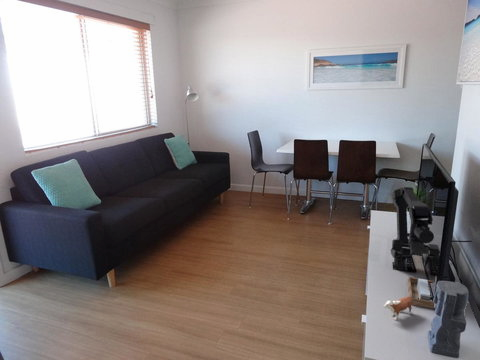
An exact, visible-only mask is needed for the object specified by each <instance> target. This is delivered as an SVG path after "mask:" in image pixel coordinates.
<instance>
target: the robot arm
mask: <svg viewBox="0 0 480 360" xmlns="http://www.w3.org/2000/svg"><path fill="white" fill-rule="evenodd" d="M391 199H392V204H393V205H394V207H395V209H396V234H397V235H396V239H393V240H392V241H391V249H390V254H391V256H392V258H394V259H393V261H392V264H391V265H392V269H393V270H396V271H397V270H398V271H403V272H404V271H405V272H407V271H408V268H407V267H408V266H407V265H408V264H407V261H408V259H412V257H413V256H417V257H418V256H419V257H423V255H425V256H424V257H425V258H424V261H423V267H424V268H425V267H426V266H427V265H428V263H429V262H430V260H432V258H436V257H440V256H439V254H440V255H441V249H440V246H439V245H438V244H435V243H433V244H432V243H431V242H433V241H434V239H435V235H434V233H433V232H432V230H431V227H429V225H430V226H431V225H433V215H432V211H431V209H430V207H429V206H428V205H427V204H426V203H424V202H422V201H420V199H419V197H418V195H416V193H415V191H414V188H413V187H411V186H401V187H400V188H398V189H394V190H393V191H392V192H391ZM408 207H409V209H407V208H408ZM408 215H409V218H410V226H409V232H408ZM408 234H409V235H408ZM427 244H428V245H427Z"/></svg>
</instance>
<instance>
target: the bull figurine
mask: <svg viewBox="0 0 480 360" xmlns="http://www.w3.org/2000/svg"><path fill="white" fill-rule="evenodd" d="M412 302H413V301H412V299H411V297H410V296H409V295H408V296H404V297H402V298H399V299H397V300H396V299H395V300H393V301H392V300H391V299H388V300H387V301H386V302H385V304H383V308H384V309H389V310H390V311H391V313H392V315H391V316H392V317H394V318H393V320H394V321H398V317H399V314H400V313H403V311H406V310H407V309H408V312H407V315H411V314H412V309H413V307H412V306H413V305H412Z"/></svg>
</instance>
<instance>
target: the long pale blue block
mask: <svg viewBox="0 0 480 360" xmlns="http://www.w3.org/2000/svg"><path fill="white" fill-rule="evenodd" d="M427 280H428V279H423V278H418V285H417V288H418V294H419V299H421V300H427V301H430V298H431V296H430V291H429V286H428V281H427Z"/></svg>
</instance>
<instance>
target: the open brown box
mask: <svg viewBox="0 0 480 360" xmlns="http://www.w3.org/2000/svg"><path fill="white" fill-rule="evenodd" d="M418 279H419V278H418V277H413V276H412V277H410V276H408V278H407V287H408V297H409V296H410V297H411V299H412V301H413V302H412V305H411V306H416V307H423V308H427V309H434V302H433V301H427V300H421V299H418V298H419V294H418V288H417V285H418ZM426 280H427V281H428V286H429V283H433V281H434V280H429V279H426ZM429 291H430V295H431V290H430V286H429ZM434 310H435V309H434Z"/></svg>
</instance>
